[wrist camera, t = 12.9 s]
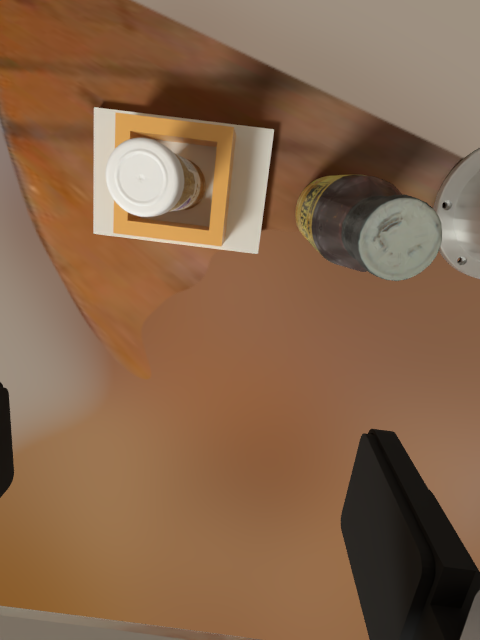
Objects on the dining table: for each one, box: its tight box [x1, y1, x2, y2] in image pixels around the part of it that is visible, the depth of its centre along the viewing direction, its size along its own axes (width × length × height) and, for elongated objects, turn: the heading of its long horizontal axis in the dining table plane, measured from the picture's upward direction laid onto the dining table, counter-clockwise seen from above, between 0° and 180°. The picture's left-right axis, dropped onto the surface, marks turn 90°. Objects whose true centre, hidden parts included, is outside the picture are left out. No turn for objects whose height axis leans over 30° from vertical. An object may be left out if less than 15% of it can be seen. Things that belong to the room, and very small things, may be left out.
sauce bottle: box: [296, 174, 442, 281], centre depth 28 cm, size 7×6×20 cm
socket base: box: [94, 107, 274, 254], centre depth 35 cm, size 16×11×5 cm
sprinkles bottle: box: [106, 138, 206, 217], centre depth 30 cm, size 5×5×14 cm
